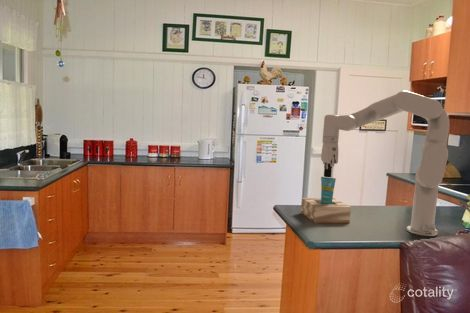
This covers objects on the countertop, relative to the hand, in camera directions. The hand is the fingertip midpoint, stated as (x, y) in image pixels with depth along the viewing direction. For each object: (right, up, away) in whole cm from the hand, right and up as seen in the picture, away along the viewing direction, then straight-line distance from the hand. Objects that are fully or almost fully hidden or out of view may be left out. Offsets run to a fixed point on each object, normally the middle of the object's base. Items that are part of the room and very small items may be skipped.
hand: (327, 176), depth 188 cm
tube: (-1, -20, +2) cm, 20 cm away
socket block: (-1, -21, +2) cm, 21 cm away
